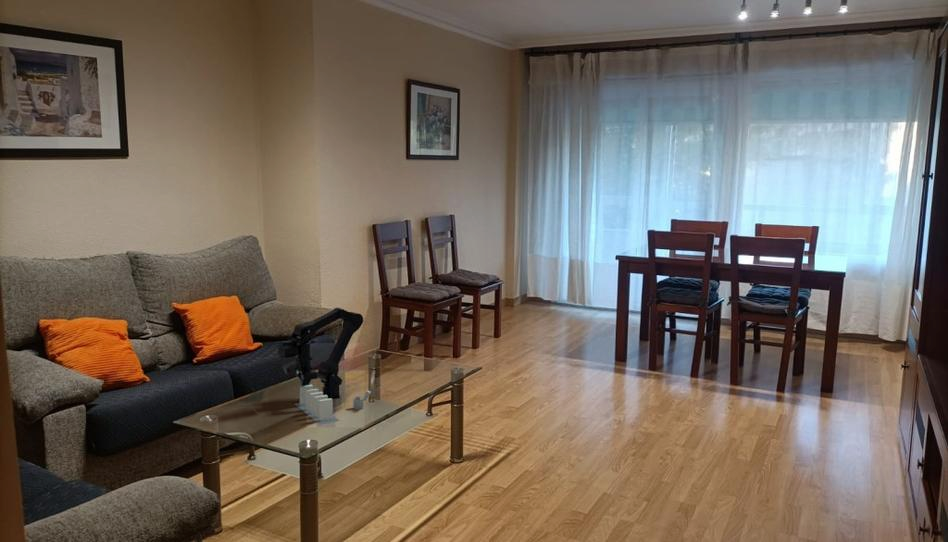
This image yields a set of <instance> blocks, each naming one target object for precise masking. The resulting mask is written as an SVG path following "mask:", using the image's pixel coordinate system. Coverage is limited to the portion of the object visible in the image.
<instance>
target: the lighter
mask: <svg viewBox="0 0 948 542" xmlns="http://www.w3.org/2000/svg"><path fill="white" fill-rule="evenodd" d="M371 393H372V391H371V390H369V389H368V390H366V392H365V395H364V396H363V398H362V396H359V395H357V396H355V397H354V398H353V399H352V403H353V404H352V405H353V406H352V408H353V409H356V410H364V409H365V402H366V401H368V398H369V397H370V395H371Z"/></svg>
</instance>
